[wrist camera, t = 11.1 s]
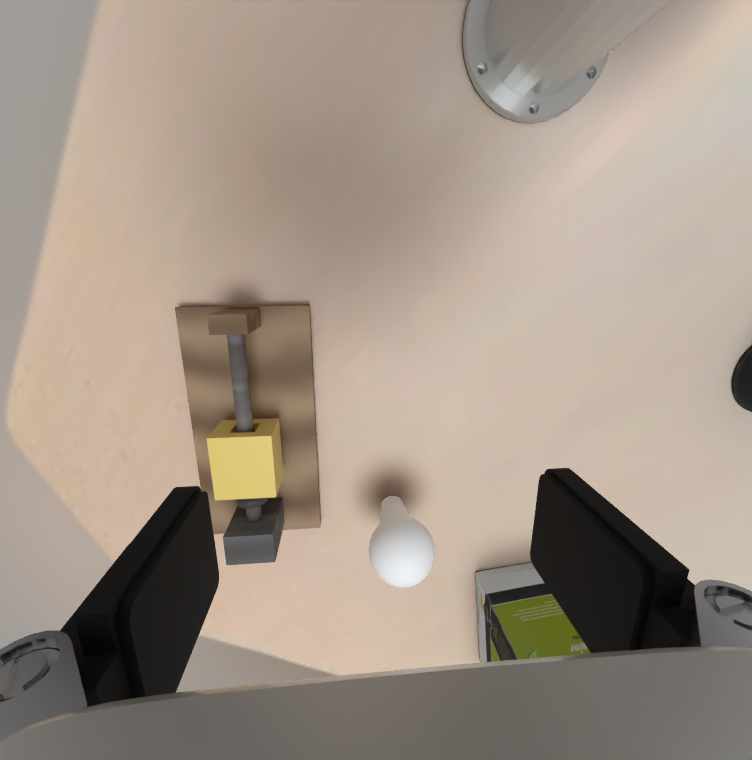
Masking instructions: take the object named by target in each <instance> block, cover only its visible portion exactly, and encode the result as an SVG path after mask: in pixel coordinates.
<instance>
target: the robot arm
mask: <svg viewBox="0 0 752 760" xmlns="http://www.w3.org/2000/svg"><path fill="white" fill-rule="evenodd" d="M669 1H671V0H470V2H469V4H468V7H467V11H466V16H465V21H464V27H463V49H464V58H465V63H466V66H467V70H468V74H469V76H470V79H471V81H472V83H473V85H474V87H475V89H476V91H477V92H478V93H479V95H480V96H481V98H482V99H483V100H484V102H485V103H486V104H488V105H489V106H490V107H491V108H492V109H493V110H494V111H495V112H497V113H499V114H500V115H502V116H504V117H505V118H508V119H511V120H514V121H517V122H525V123H535V122H543V121H546V120H549V119H552V118H555V117H557V116H559V115H560V114H562V113H564V112H565V111H567V110H569V109H570V108H571V107H572V106H574V105H575V104H576V103H578V102H579V101H580V100H581V99H582V98H583V97H584V96H585V95H586V94H587V93H588V92H589V90H590V89H591V88H592V87H593V85H594V84H595V82H596V81H597V79H598V78H599V76H600V74H601V72H602V69H603V67H604V65H605V63H606V61H607V57H608V54H609V52H610V51H611V50H612V49H613V48H615V47H616V46H617V45H618V44H619V43H621V42H622V41H623V40H624V39H625V38H627V37H628V36H629V35H630V34H631V33H632V32H634V31H635V30H636V29H637V28H638V27H640V26H641V25H642V24H643V23H644V22H646V21H647V20H648V19H649V18H650V17H652V16H653V15H654V14H655V13H656V12H658V11H659V10H660V9H661V8H662V7H663V6H665V5H666V4H667V3H668V2H669ZM478 71H480V72H481V74H479V72H478ZM529 110H531V113H530V111H529ZM530 556H531V561H532V564H533V566H534V568H535V569H536V571H537V572H538V574H539V575H540V577H541V578H542V580H543V581H544V583H545V584H546V586H547V587H548V589H549V590H550V592H551V593H552V595H553V596H554V598H555V600H556V601H557V603H558V604H559V606H560V607H561V609H562V610H563V612H564V613H565V615H566V616H567V618H568V619H569V621H570V622H571V624H572V625H573V627H574V628H575V630H576V631H577V633H578V634H579V636H580V637H581V639H582V640H583V642H584V643H585V645H586V646H587V648H588V649H589V651H590V652H591V653H588V654H577V655H565V656H553V657H541V658H529V659H518V660H506V661H494V662H483V663H472V664H461V665H450V666H439V667H428V668H417V669H406V670H396V671H385V672H374V673H363V674H353V675H343V676H332V677H322V678H313V679H302V680H292V681H282V682H271V683H261V684H251V685H241V686H231V687H222V688H214V689H204V690H195V691H186V692H178V693H176V690H177V688H178V685H179V683H180V680H181V678H182V675H183V673H184V670H185V668H186V665H187V663H188V660H189V658H190V655H191V653H192V650H193V648H194V645H195V643H196V640H197V638H198V635H199V633H200V630H201V628H202V625H203V623H204V620H205V618H206V615H207V613H208V610H209V608H210V605H211V603H212V600H213V598H214V595H215V593H216V590H217V587H218V583H219V570H218V563H217V556H216V549H215V541H214V534H213V527H212V520H211V513H210V505H209V498H208V494H207V492H206V491H201V489H200V487H198V486H191V487H176V488H174V489H173V490H172V492H171V493H170V494H169V495H168V497H167V498H166V499H165V500H164V502H163V503H162V504H161V505H160V507H159V508H158V509H157V511H156V512H155V513H154V514H153V516H152V517H151V518H150V519H149V521H148V522H147V523H146V524H145V526H144V527H143V528H142V529H141V531H140V532H139V533H138V534H137V536H136V537H135V538H134V540H133V541H132V542H131V543H130V544H129V545H128V546H127V547H126V549H125V550H124V551H123V552H122V554H121V555H120V556H119V557H118V559H117V560H116V561H115V562H114V564H113V565H112V566H111V567H110V569H109V570H108V571H107V572H106V574H105V575H104V576H103V577H102V579H101V580H100V582H99V583H98V584H97V585H96V586H95V588H94V589H93V590H92V591H91V593H90V594H89V595H88V596H87V598H86V599H85V600H84V601H83V603H82V604H81V605H80V606H79V608H78V609H77V610H76V612H75V613H74V614H73V615H72V617H71V618H70V619H69V620H68V621H67V623H66V624H65V625H64V626H63V628H62V629H61V630H60V631H43V632H39V633H35V634H31V635H29V636H26V637H24V638H21V639H19V640H17V641H14V642H13V643H11V644H9V645H7V646H5V647H4V648H2V649H0V760H752V592H751V591H750V590H747V589H745V588H742V587H740V586H737V585H735V584H731V583H727V582H724V581H718V580H704V581H700V582H699V583H697V584H696V585H694V584H693V583H692V582H690V581H689V580H688V579H687V577H688V573H689V569H688V568H687V567H685V566H684V565H683V564H682V563H681V562H680V561H678V560H677V559H676V558H675V557H674V556H672V555H671V554H670V553H669V552H668V551H667V550H665V549H664V548H663V547H662V546H661V545H659V544H658V543H657V542H656V541H655V540H653V539H652V538H651V537H650V536H649V535H648V534H646V533H645V532H644V531H643V530H642V529H640V528H639V527H638V526H637V525H636V524H635V523H633V522H632V521H631V520H630V519H629V518H627V517H626V516H625V515H624V514H623V513H622V512H620V511H619V510H618V509H617V508H616V507H614V506H613V505H612V504H611V503H610V502H609V501H607V500H606V499H605V498H604V497H603V496H601V495H600V494H599V493H598V492H597V491H595V490H594V489H593V488H592V487H591V486H590V485H588V484H587V483H586V482H585V481H584V480H582V479H581V478H580V477H579V476H578V475H577V474H575V473H574V472H573V471H572V470H570V469H569V468H558V469H548V470H546V472H545V474H542V475H541V476H540V479H539V486H538V494H537V502H536V510H535V518H534V526H533V534H532V543H531V551H530Z"/></svg>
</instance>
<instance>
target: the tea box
mask: <svg viewBox="0 0 752 760" xmlns="http://www.w3.org/2000/svg"><path fill="white" fill-rule="evenodd" d="M475 575H476V593H477V613H478V633H479V653H480V663H483V662H494V661H506V660H518V659H529V658H541V657H553V656H565V655H577V654H588V653H591V652H590V651H589V649H588V648H587V646H586V645H585V643H584V642H583V640H582V639H581V637H580V636H579V634H578V633H577V631H576V630H575V628H574V627H573V625H572V624H571V622H570V621H569V619H568V618H567V616H566V615H565V613H564V612H563V610H562V609H561V607H560V606H559V604H558V603H557V601H556V600H555V598H554V596H553V595H552V593H551V592H550V590H549V589H548V587H547V586H546V584H545V583H544V581H543V580H542V578H541V577H540V575H539V574H538V572H537V571H536V569H535V568H534V566H533V564H532V562H531V563H524V564H518V565H512V566H506V567H500V568H495V569H489V570H484V571H479V572H476V573H475Z"/></svg>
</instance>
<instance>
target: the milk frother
mask: <svg viewBox="0 0 752 760" xmlns="http://www.w3.org/2000/svg"><path fill="white" fill-rule="evenodd" d="M732 389H733V394H734V396H735V399H736V400H737V402H738V403H739V405H740V406H741V407H743V408H744V409H746V410H748V411H751V412H752V347H751V348H750V349H749V350H748V351H747V352H746V353H745V355H744V356H743V357H742V358H741V360H740V362H739V363H738V365H737V368H736V370H735V373H734V376H733V381H732Z"/></svg>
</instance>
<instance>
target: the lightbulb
mask: <svg viewBox="0 0 752 760" xmlns="http://www.w3.org/2000/svg"><path fill="white" fill-rule="evenodd" d="M369 557H370V561H371V564H372V567H373V569H374V570H375V572H376V573H377V575H378V576H379V577H380V578H381V579H382V580H384V581H385V582H386V583H388V584H390V585H392V586H396V587H410V586H414V585H416V584H418V583H419V582H421V581H422V580H423V579H424V578H425V577H426V576H427V575H428V573H429V572H430V570H431V568H432V566H433V562H434V557H435V546H434V542H433V539H432V536H431V534H430V532H429V531H428V530H427V528H426V527H425V526H424V525H423V524H422V523H421V522H419V521H418V520H416V519H415V518H413V517H411V516H410V515H409V512H408V510H407V509H406V508H405V507H404V504H403V502H402V500H401V499H400V498H399V497H397V496H388V497H386V498H385V499H384V500H383V501H382V503H381V514H380V524H379V525H378V527H377V528H376V530H375V531H374V533H373V534H372V537H371V540H370V545H369Z"/></svg>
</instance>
